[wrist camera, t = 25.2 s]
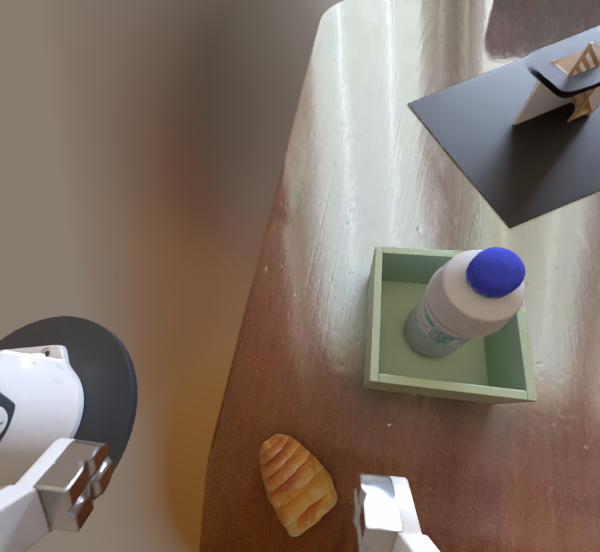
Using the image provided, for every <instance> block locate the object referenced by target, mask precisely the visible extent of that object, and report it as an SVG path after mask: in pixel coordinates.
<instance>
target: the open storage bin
mask: <svg viewBox="0 0 600 552" xmlns="http://www.w3.org/2000/svg"><path fill="white" fill-rule="evenodd" d="M463 252H466V251H450V250H433V249H416V248H399V247H379V246H376V247H375V251H374V256H373V261H372V265H371V270H370V275H369V285H368V305H367V324H366V344H365V364H364V384H363V388H366V389H374V390H382V391H390V392H398V393H406V394H414V395H422V396H430V397H438V398H446V399H454V400H462V401H470V402H478V403H486V404H505V403H520V402H534V401H537V394H536V387H535V380H534V373H533V366H532V359H531V352H530V345H529V338H528V331H527V324H526V317H525V310H524V304H522V306H521V308H520V310H519V311H518V312H517V313H516V314H515V315H514V316H513V317H512V318H511V319H510V320H509V321H508V322H507V323H506V324H505V325H504V326H503V327H502V328H501V329H500V330H498V331H497V332H495V333H493V334H490V335H487V336H485V337H482V338H478V339H472V340H470V341H468V342H466V343H465V344H463V345H462V346H461V347H459V348H458V349H457V350H456V351H454V352H453V353H451V354H449V355H447V356H444V357H437V358H430V357H426V356H425V355H423V354H421V353H420V352H418V351H416V350H414V349H413V348H412V347H411V346H410V345H409V342H408V339H407V336H406V333H405V330H404V328H405V322H406V320H407V317H408V315H409V314H410V312H411V311H412V310H413V309H414V308H415V307H416V306H417V305H418V304H419V303H420V301H421V300H422V299H423V297H424V296H425V291H426V288H427V285H428V284H429V282H430V279H431V278H432V276H433V275H434V273H435V272H436V271H437V270H438V269H440V268H441V267H443V266H444V265H445V264H446V263H447V262H449V261H450V260H451V259H452V258H453V257H455V256H456V255H458V254H460V253H463Z"/></svg>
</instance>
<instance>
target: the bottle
mask: <svg viewBox="0 0 600 552" xmlns="http://www.w3.org/2000/svg"><path fill="white" fill-rule="evenodd" d="M524 277H525V266H524V264H523V262H522V260H521V259H520V258H519V257H518V256H517V255H516V254H515V253H514V252H512V251H510V250H507V249H505V248H500V247H493V248H488V249H485V250H471V251H466V252H463V253H460V254H458V255H456V256H455V257H453V258H452V259H451V260H450V261H449V262H447V263H446V264H445V265H444V266H443V267H441V268H440V269H438V270H437V271H436V272H435V273H434V275H433V276H432V278H431V279H430V282H429V284H428V285H427V288H426V291H425V296H424V297H423V299H422V300H421V301H420V303H419V304H418V305H417V306H416V307H415V308H414V309H413V310H412V311H411V312H410V314H409V315H408V317H407V320H406V322H405V328H404V330H405V333H406V336H407V339H408V342H409V345H410V346H411V347H412V348H413V349H414V350H416V351H418V352H420V353H421V354H423V355H425V356H426V357H430V358H437V357H444V356H447V355H449V354H451V353H453V352H454V351H456V350H457V349H458V348H459V347H461V346H462V345H463V344H465V343H466V342H468V341H470V340H472V339H478V338H482V337H485V336H487V335H490V334H493V333H495V332H497V331H498V330H500V329H501V328H502V327H503V326H504V325H505V324H506V323H507V322H508V321H509V320H510V319H511V318H512V317H513V316H514V315H515V314H516V313H517V312H518V311H519V310H520V308H521V306H522V304H523V302H524V299H525V284H524V281H523V280H524Z"/></svg>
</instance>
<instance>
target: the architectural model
mask: <svg viewBox="0 0 600 552" xmlns="http://www.w3.org/2000/svg"><path fill="white" fill-rule="evenodd" d="M408 105H409V106H410V107H411V108H412V110H413V111H414V112H415V113H416V115H417V116H418V117H419V118H420V119H421V121H422V122H423V123H424V124H425V126H426V127H427V128H428V129H429V130H430V132H431V133H432V134H433V135H434V137H435V138H436V139H437V140H438V141H439V143H440V144H441V145H442V146H443V148H444V149H445V150H446V151H447V152H448V154H449V155H450V156H451V157H452V159H453V160H454V161H455V162H456V163H457V165H458V166H459V167H460V168H461V169H462V171H463V172H464V173H465V174H466V176H467V177H468V178H469V179H470V180H471V182H472V183H473V184H474V185H475V187H476V188H477V189H478V190H479V191H480V193H481V194H482V195H483V196H484V198H485V199H486V200H487V201H488V202H489V204H490V205H491V206H492V207H493V209H494V210H495V211H496V212H497V213H498V215H499V216H500V217H501V218H502V220H503V221H504V222H505V223H506V224H507V226H508V227H509V228H512V227H514V226H517V225H519V224H521V223H524V222H526V221H528V220H531V219H533V218H536V217H538V216H540V215H543V214H545V213H547V212H550V211H552V210H554V209H557V208H559V207H562V206H564V205H566V204H569V203H571V202H573V201H576V200H578V199H580V198H583V197H585V196H587V195H590V194H592V193H595V192H597V191H599V190H600V26H598V27H595V28H592V29H590V30H587V31H585V32H582V33H580V34H577V35H575V36H572V37H569V38H567V39H564V40H562V41H559V42H557V43H554V44H552V45H549V46H547V47H544V48H541V49H539V50H536V51H534V52H531V53H530V54H529V55H528V57H525V58H523V59H520V60H518V61H515V62H513V63H510V64H507V65H505V66H502V67H500V68H497V69H495V70H492V71H490V72H487V73H485V74H482V75H479V76H477V77H474V78H472V79H469V80H467V81H464V82H462V83H459V84H457V85H454V86H451V87H449V88H446V89H444V90H441V91H439V92H436V93H434V94H431V95H429V96H426V97H423V98H421V99H418V100H416V101H413V102H411V103H408Z"/></svg>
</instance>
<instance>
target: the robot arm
mask: <svg viewBox="0 0 600 552" xmlns="http://www.w3.org/2000/svg"><path fill="white" fill-rule="evenodd" d="M48 354H49V355H48ZM83 408H84V393H83V387H82V384H81V381H80V379H79V377H78V376H77V374H76V373H75V371H74V370H73V369H72V367H71V366H70V364H69V357H68V352H67V349H66V348H65V347H64V346H61V345H49V346H38V347H28V348H18V349H7V350H0V552H25V551H27V550H28V549H29V548H30V547H31V546H33V545H34V544H35V543H36V542H38V541H39V540H40V539H41V538H42V537H44V536H45V535H46V534H47V533H49V532H50V529H52V530H64V531H74V532H79V530H80V528H81V527H82V526H83V524H84V522H85V521H86V519H87V518H88V516H89V515H90V513H91V512H92V510H93V500H95V499H96V498H97V497H99V496H100V495H102V494H103V492H104V491H105V489H106V487H107V486H108V484H109V482H110V479H111V476H112V473H113V463H112V460H111V459H110V458H109V457H108V456H107V455H108V454H109V452H110V448H109V444H105V443H98V442H91V441H84V440H77V439H73V438H74V436H75V434H76V432H77V430H78V427H79V424H80V421H81V418H82V414H83ZM356 487H357V488H355V489H354V491H353V497H352V521H353V525H354V527H355V528H356V534H355V538H354V545H355V552H440V551H439V550H438V549H437V547H436V546H435V545H434V544H433V542H432V541H431V540H430V539H429V537H428V536H427V535H422V533H421V529H420V525H419V521H418V518H417V514H416V510H415V506H414V502H413V499H412V495H411V491H410V487H409V484H408V481H407V479H406V478H404V477H395V476H389V475H381V474H371V473H361V472H358V474H357V477H356Z"/></svg>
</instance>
